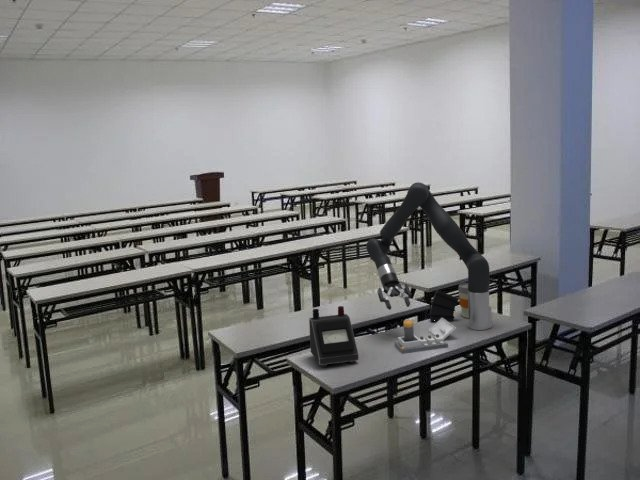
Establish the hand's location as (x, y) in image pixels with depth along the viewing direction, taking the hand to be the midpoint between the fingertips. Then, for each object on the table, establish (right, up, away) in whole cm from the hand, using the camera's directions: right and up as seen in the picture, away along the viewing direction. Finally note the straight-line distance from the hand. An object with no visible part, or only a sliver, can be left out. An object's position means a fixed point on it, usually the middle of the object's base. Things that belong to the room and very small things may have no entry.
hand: (399, 307), depth 254 cm
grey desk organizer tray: (+8, -16, -6) cm, 19 cm away
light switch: (+20, -13, +7) cm, 25 cm away
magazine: (+25, -10, +26) cm, 37 cm away
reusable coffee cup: (+39, -8, +31) cm, 50 cm away
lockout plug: (+3, -15, -7) cm, 17 cm away
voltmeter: (-29, -20, -14) cm, 37 cm away
